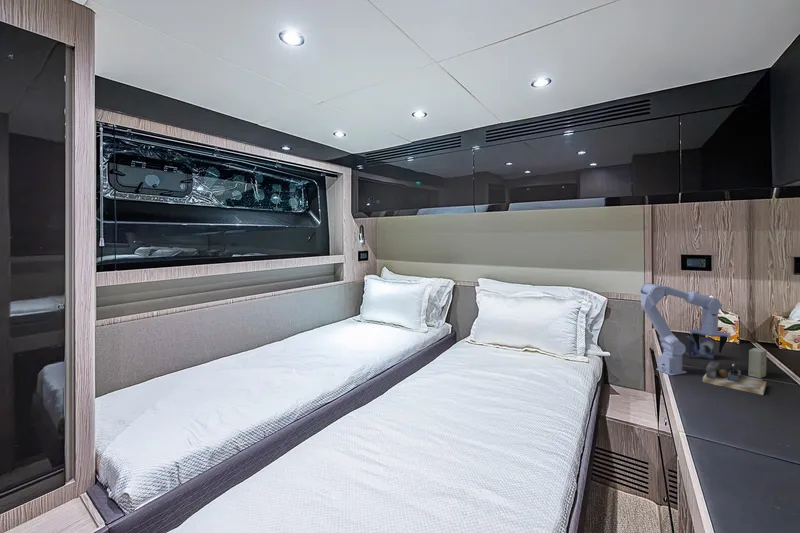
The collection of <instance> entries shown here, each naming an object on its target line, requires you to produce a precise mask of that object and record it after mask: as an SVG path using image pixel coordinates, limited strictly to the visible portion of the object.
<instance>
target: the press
mask: <svg viewBox="0 0 800 533" xmlns="http://www.w3.org/2000/svg"><path fill="white" fill-rule="evenodd" d="M705 369H706V370H705V372H706V373H705V374H704V375H703V376H702V383H705V384H710V385H714V386H721V387H723V386H724V388H727V389H728V388H729V389H733V390H737V391H743V392H748V393H752V394H756V395H759V396H760V395H761V396H764V393H765V390H766V387H767V381H764V379H762V378H756V377H752V376H747V375H741V376H740V379H739V381H738V382H734V381H729V380H728V374H729V372H728V371H727V370H726V369H722V368H721V369H720V362H719V361H714V360H710V361H709V363H708V364H707V365H706V368H705Z"/></svg>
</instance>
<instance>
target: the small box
mask: <svg viewBox="0 0 800 533" xmlns="http://www.w3.org/2000/svg"><path fill="white" fill-rule="evenodd" d="M715 342H716V341H715V339H713V338H711V336H699V346H700V350H698V348H697V344H696V342H695V340H694V338H693V335H690V336H689V335H685V347H686V351H685V353H684V354H685V356H687V358H689V359H695V360H696V359H697V360H708V361H709V360H710V361H714V360H715Z"/></svg>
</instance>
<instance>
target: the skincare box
mask: <svg viewBox="0 0 800 533" xmlns="http://www.w3.org/2000/svg"><path fill="white" fill-rule="evenodd" d="M767 351H768V350H767V349H764V348H760V347H759V348H757V347H753V348H751V349H749V350H748V369H747V371H748V373H747V375H748V377H752V378H758V379H762V378H765V377H766V376H767V355H768V354H767V353H768V352H767Z"/></svg>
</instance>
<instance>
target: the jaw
mask: <svg viewBox="0 0 800 533" xmlns="http://www.w3.org/2000/svg"><path fill="white" fill-rule="evenodd" d="M739 366H740V365H739V363H738V362H730V369H729V370H730V371H729V372H728V373H729V374H728V380H729V381H734V382H738V381H739V379H740V376H741V372H742V371H741V370H740V369H739Z"/></svg>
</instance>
